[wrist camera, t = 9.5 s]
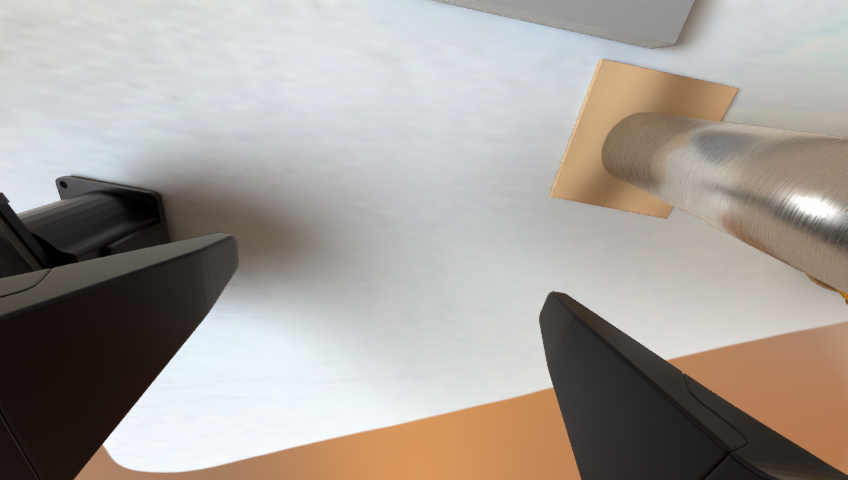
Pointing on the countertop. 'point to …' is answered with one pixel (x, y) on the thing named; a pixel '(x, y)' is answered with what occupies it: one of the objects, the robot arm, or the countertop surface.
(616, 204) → the coaster
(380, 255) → the countertop surface
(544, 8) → the cover plate
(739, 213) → the t key
